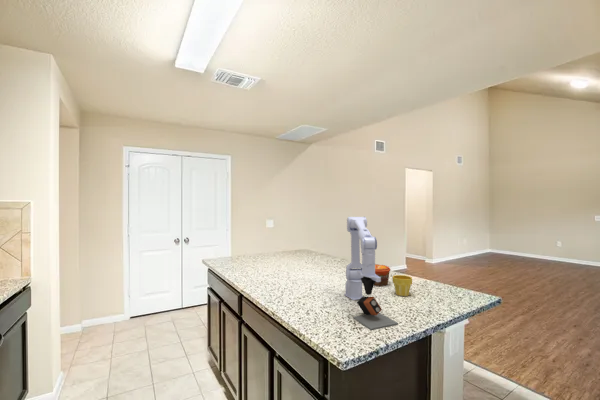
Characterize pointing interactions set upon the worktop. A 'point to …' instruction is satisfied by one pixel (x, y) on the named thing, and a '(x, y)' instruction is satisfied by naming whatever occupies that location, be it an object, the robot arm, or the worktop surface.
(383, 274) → the food container
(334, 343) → the worktop surface
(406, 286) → the plant pot
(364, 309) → the battery
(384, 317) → the mat
